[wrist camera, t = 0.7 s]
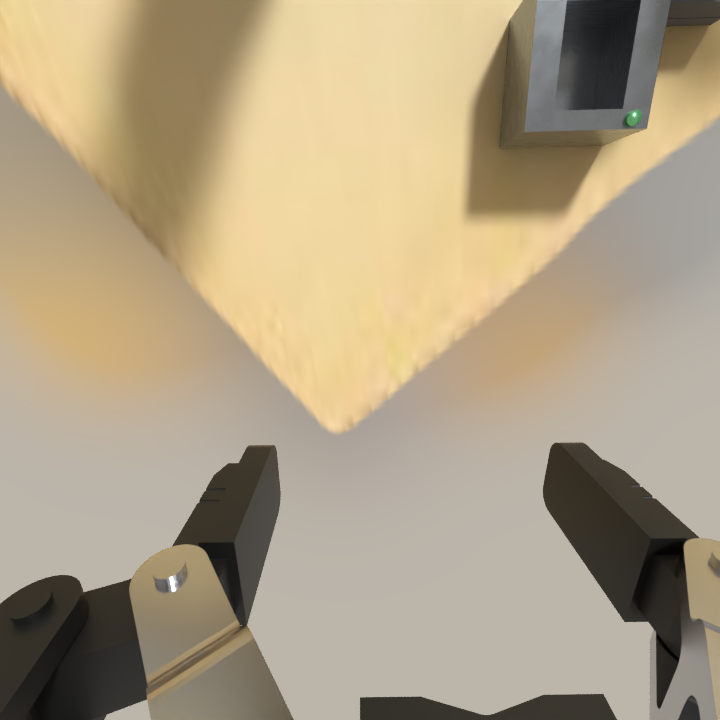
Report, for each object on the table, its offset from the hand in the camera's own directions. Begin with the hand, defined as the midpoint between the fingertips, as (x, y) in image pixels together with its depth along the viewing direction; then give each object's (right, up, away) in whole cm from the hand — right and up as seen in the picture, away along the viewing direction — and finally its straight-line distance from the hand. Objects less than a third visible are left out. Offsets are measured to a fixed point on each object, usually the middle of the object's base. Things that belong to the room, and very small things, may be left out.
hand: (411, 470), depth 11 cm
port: (+15, +26, +20) cm, 36 cm away
